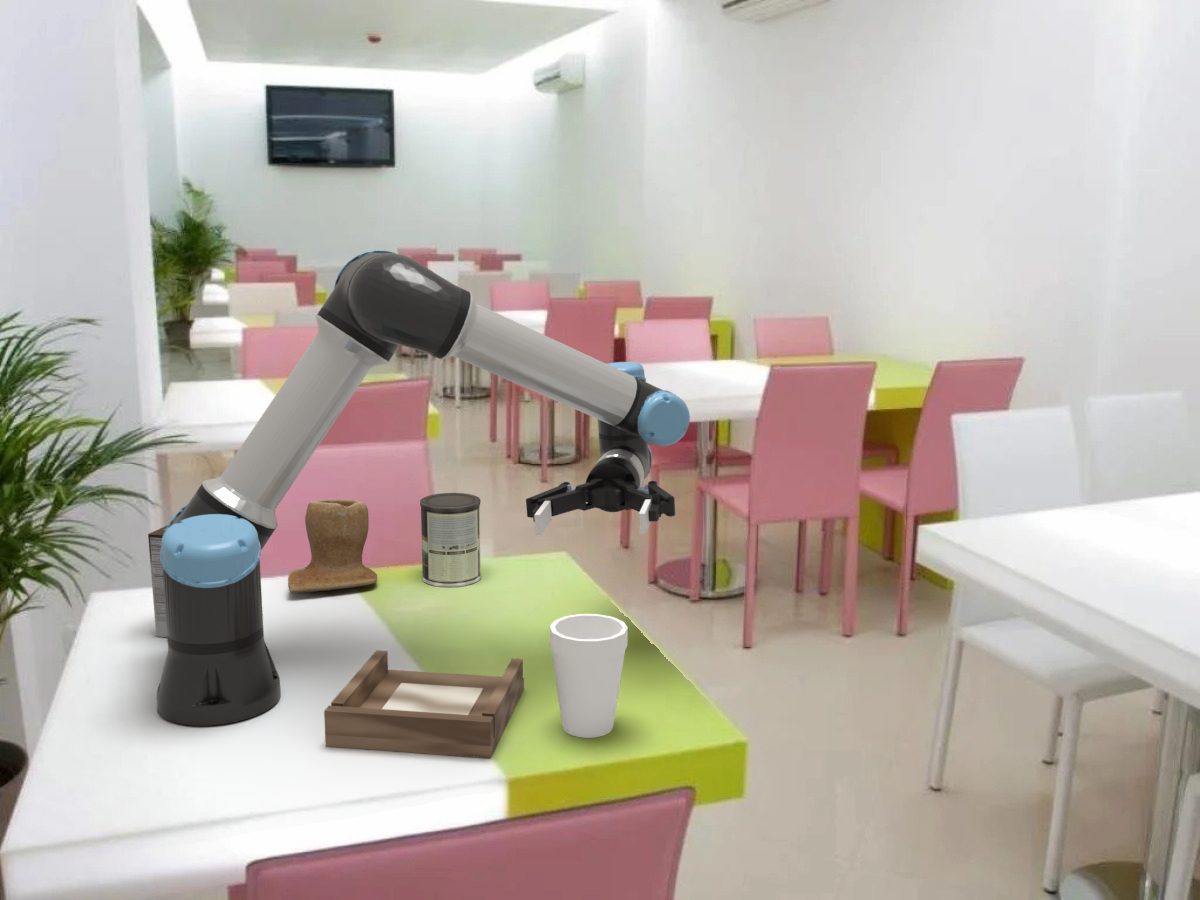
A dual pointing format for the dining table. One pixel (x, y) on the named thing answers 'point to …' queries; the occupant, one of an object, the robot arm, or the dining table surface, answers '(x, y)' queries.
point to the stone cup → (334, 547)
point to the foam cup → (588, 671)
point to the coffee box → (158, 581)
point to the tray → (423, 710)
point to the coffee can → (450, 539)
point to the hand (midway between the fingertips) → (589, 524)
